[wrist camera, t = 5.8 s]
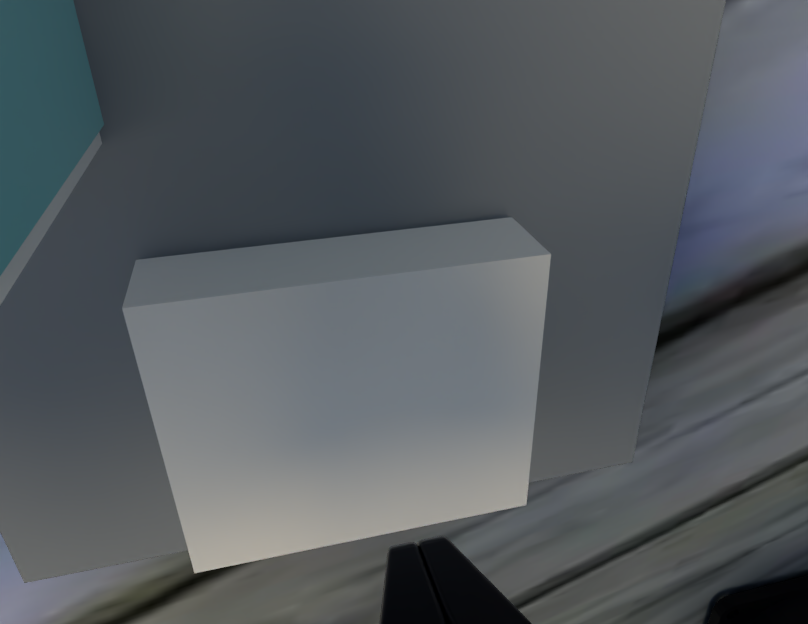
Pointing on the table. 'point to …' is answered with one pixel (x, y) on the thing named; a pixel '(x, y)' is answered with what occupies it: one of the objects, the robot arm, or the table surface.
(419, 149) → the slate mat
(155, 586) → the table surface
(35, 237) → the tile
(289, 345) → the tile
